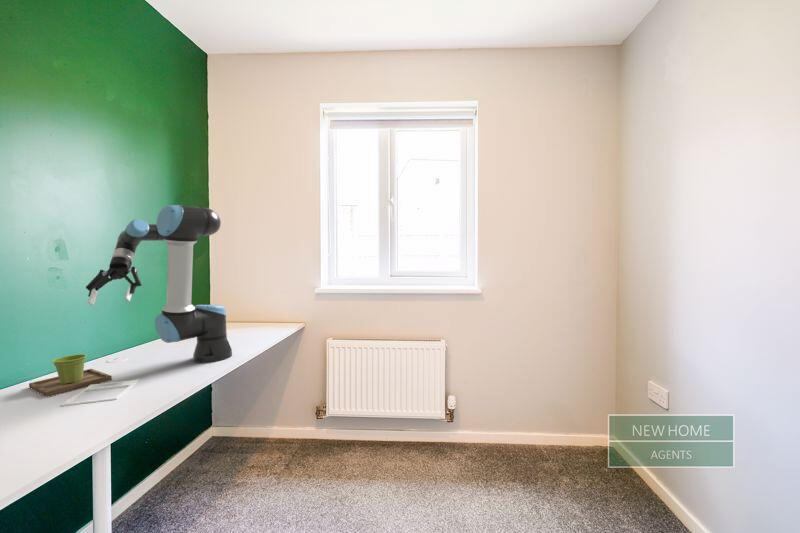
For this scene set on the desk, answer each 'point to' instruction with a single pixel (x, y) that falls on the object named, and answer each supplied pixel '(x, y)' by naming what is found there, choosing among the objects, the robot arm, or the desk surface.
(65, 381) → the plant pot
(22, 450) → the desk surface
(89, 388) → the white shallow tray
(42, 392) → the walnut tray
